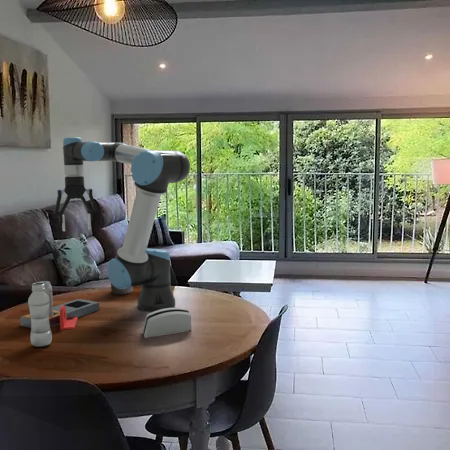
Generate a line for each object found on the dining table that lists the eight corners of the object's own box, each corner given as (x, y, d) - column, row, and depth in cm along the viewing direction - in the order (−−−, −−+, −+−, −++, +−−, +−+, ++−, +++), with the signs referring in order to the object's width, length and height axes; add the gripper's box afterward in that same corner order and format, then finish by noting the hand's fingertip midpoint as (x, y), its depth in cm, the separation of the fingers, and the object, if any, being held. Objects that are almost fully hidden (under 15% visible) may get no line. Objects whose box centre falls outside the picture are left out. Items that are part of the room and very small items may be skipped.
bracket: (74, 330, 181) (72, 308, 180) (60, 330, 181) (59, 308, 180) (78, 319, 193) (77, 298, 192) (65, 320, 193) (64, 299, 192)
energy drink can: (36, 321, 190) (34, 281, 188) (53, 320, 192) (51, 280, 190) (35, 326, 184) (33, 285, 182) (53, 324, 186) (51, 283, 184)
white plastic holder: (186, 326, 183) (189, 302, 179) (191, 334, 179) (194, 310, 175) (140, 333, 176) (142, 308, 172) (144, 342, 172) (146, 317, 168)
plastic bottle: (40, 350, 161) (36, 287, 158) (26, 346, 165) (22, 284, 162) (56, 344, 166) (53, 283, 164) (42, 340, 170) (39, 280, 167)
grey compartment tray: (99, 309, 204) (99, 301, 203) (41, 330, 180) (41, 321, 179) (79, 306, 209) (78, 298, 209) (20, 325, 185) (20, 316, 185)
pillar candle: (107, 294, 228) (106, 260, 226) (115, 288, 237) (115, 256, 235) (128, 295, 226) (128, 261, 224) (136, 289, 236) (135, 256, 234)
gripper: (99, 175, 220) (102, 227, 223) (44, 176, 211) (47, 230, 213) (103, 175, 213) (105, 229, 216) (46, 176, 204) (49, 233, 207)
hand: (76, 230), depth 215 cm, fingers open, 10 cm apart
